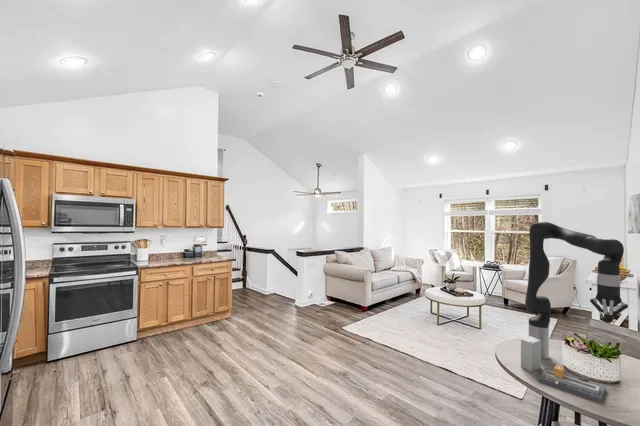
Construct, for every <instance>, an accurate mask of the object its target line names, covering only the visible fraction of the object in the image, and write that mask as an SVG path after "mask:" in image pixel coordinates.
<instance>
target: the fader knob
mask: <svg viewBox="0 0 640 426" xmlns="http://www.w3.org/2000/svg"><path fill="white" fill-rule="evenodd" d="M553 370H554V376H556V377H559V378H563V379H564V371H565V366H564V367H563V366H561V365H558V364H556V365H555V366H554V368H553Z"/></svg>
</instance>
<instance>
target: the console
mask: <svg viewBox="0 0 640 426" xmlns="http://www.w3.org/2000/svg"><path fill="white" fill-rule="evenodd" d="M537 381H538V382H540V383H542V384H545V385H547V386H551V387H554V388H557V389H560V390H562V391H564V392H569V393H571V394H573V395H577V396H580V397H581V398H586V399H587V400H591V401H594V402H595V403H596V402H597V403H599V404H601V403H602V401H603V399H604V395H605V393H606V386H605V385H603V384H600V383H598V382H593V381H591V380H589V379H588V378H586V377H583V376H580V377H578V376H574V375H572V374H568V373H566V371H565V370H564V379H563V378H559V377H556V376H554V368H549V367H544V369H543V371H541V373H540V374H539V376H538V377H537Z"/></svg>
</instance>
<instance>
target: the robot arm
mask: <svg viewBox="0 0 640 426" xmlns="http://www.w3.org/2000/svg"><path fill="white" fill-rule="evenodd" d="M528 231H529V263H528V281H527V287H526V294H525V301H524V302H525V303H524V305H525V306H524V307H525V309H526V311H527V313H532V314H536V315H534V316H531V317H529V319H528V337H529V336H531V337H534V338H536V339H539V340H541V360H548V359H549V358H550V357H549V356H550V347H549V346H550V322H551V313H552V312H551V311H552V306H551V301H550V299H549V298H548V297H547V296H543V295H537V294H538V291H539V289H540V288H541V287H542V285H543V284H544V283H545V282H546V280H547V279H548V277H549V275H550V260H549V258H548V256H547V254H546V253H545V251H544V250H545V249H544V242H545V240H547V239H556V240H561V241H564V242H566V243H568V244H569V245H571V246H574V247H576V248H577V247H578V248H581V249H585V250H588V251H590V252H592V253H594V254H597V255H600V256H603V259H601V260H599V261H598V262H597V277H596V295H595V297H593V298H590V299H589V302H590V303H591V305H593V307H595V309H596V310H597V311H598V312H599V313H603V320H604V322H605V324H612V323H614V322H613V321H614V316H618V315H620V314H621V313H622V312H623V311H625V310H626V309H628V307H629V304H628V303H625V302H624V301H623V300H622V298H621V276H620V264H621V262H622V259H623V256H624V253H625V252H624V250H625V249H624V248H625V247H624V244H623V243H622V242H621V241H620V240H618V239H610V238H609V239H603V238H597V237H596V236H595V235H593V234H588V233H585V232H584V233H583V232H580V231H574V230H572V229H568V228H565V227H562V226H559V225H557V224H554V223H552V222H549V221H548V222H547V221H540V222H539V221H537V222H533V223H532V224H531V225H530V227H529V230H528ZM599 304H600V305H601V306H602V307H601V306H600V305H599ZM618 305H619V308H618V309H616V310H614V309H615V308H616V307H617V306H618Z"/></svg>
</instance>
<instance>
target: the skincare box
mask: <svg viewBox="0 0 640 426" xmlns="http://www.w3.org/2000/svg"><path fill="white" fill-rule="evenodd" d="M520 367H521V368H523V369H525V370H527V371H530V372H535V371H537V370H539V369H541V368H542V359H541V340H539V339H536V338H534V337H531V336H529V335H528V336H526V337H524V338H521V339H520Z"/></svg>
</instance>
